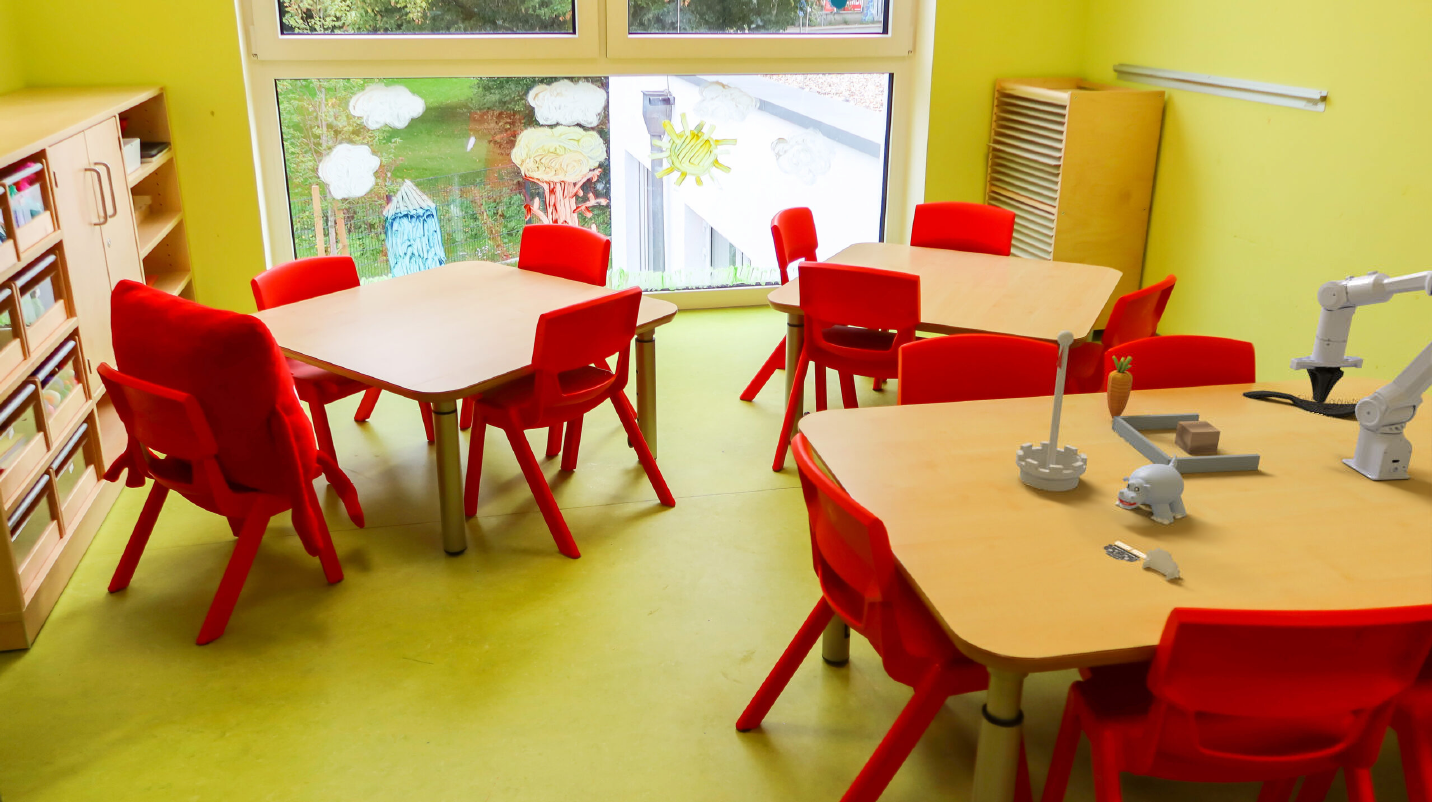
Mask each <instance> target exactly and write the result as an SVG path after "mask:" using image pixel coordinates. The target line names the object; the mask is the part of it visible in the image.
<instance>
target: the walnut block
mask: <svg viewBox="0 0 1432 802" xmlns="http://www.w3.org/2000/svg"><path fill="white" fill-rule="evenodd" d="M1220 436H1221V430H1219V429H1218V428H1217V427H1215V426H1214V425H1212V424H1211V423H1209V422H1208V421H1207V420H1199V421H1183V422H1178V424H1177V428H1176V432H1175V437H1174V438H1175V439H1174V444H1175V445H1176V446H1177V447H1179V448H1180V449H1181V450H1182V451H1184V452H1185V453H1186V454H1188V455H1207V454H1208V455H1211V454H1217V453H1218V449H1219V442H1220Z"/></svg>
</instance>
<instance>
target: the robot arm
mask: <svg viewBox="0 0 1432 802" xmlns="http://www.w3.org/2000/svg"><path fill="white" fill-rule="evenodd" d="M1419 291H1425V292H1426V295H1427V296H1429V297H1432V270H1425V271H1419V272H1415V273H1414V272H1413V273H1409V274H1405V275H1400V276H1396V277H1391V276H1389V275H1388V274H1387V273H1385V272H1379V271H1378V270H1374V271H1373V270H1371V271H1368V272H1366V275H1361V276H1357V277H1355V276H1354V275H1348V276H1346V277H1345V279H1340V280H1329V281H1327V282H1324V283H1322V284H1321V285H1320V287H1319V288H1318V290H1317V292H1316V293H1317V294H1316V295H1317V302H1318V303H1319V305H1320V306H1321V309H1320V313H1319V317H1318V323H1317V328H1316V334H1315V338H1314V344H1313V348H1312V353H1311V354H1310V355H1307V356H1302V357H1293V358H1291V359H1290V364H1289V368H1290V369H1293V370H1294V371H1300V370H1306V371H1307V374H1308V377H1309V380H1310V384H1311V390H1312V396H1313V398H1312V400H1313V401H1315V402H1318V403H1326V402H1327V401H1326V400H1328V397H1329V396H1330V394H1331V391H1332V390H1333V388H1334V387H1335V385H1336V384H1337V383H1338V382H1339V381H1340V380H1341V379H1342V378H1343V377H1344V373H1345V371H1344V370H1342V369H1341V368H1355V369H1362V368H1363V364H1364V358H1362V357H1359V356H1356V355H1355V356H1353V355H1351V356H1350V355H1346V349H1347V345H1348V340H1349V334H1350V330H1351V324H1352V320H1353V317H1354V315H1355V314H1356V309H1357V308H1358V307H1362V306H1370V305H1375V304H1383V303H1388V302H1389V301H1390V300H1391V299H1392V298H1393V296H1394V295H1396V294H1403V293H1411V292H1419ZM1431 386H1432V340H1431V341H1430V342H1429V343H1428V344H1427V345H1426V346H1425V347H1424V348H1423V349H1422V350H1421V351H1420V352H1419V353H1418V354H1417V355H1416V356H1415V358H1414V359H1413V360H1411V362H1409V364H1407V366H1405V368H1404V369H1402V371H1401V372H1400V373H1399V374H1398V375H1396V377H1395V378H1393V380H1392V381H1391V382H1389V383H1388V384H1385V385H1383V386H1382V387H1379V388H1378V389H1376V390H1375V391H1374V392H1373V393H1372V394H1371V395H1368V396H1364V397H1362V398H1361V399H1359V400H1360V401H1359V400H1358V403H1357V405H1356V408H1355V414H1354V415H1355V417H1356V419H1357V421H1358V423H1359V425H1358V426H1360V427H1359V432H1358V437H1357V441H1356V445H1355V449H1354V454H1353V458H1343V459H1342V461H1341V462H1342V463H1344V464H1346V465H1347V466H1349V467H1351V468H1352V469H1353V470H1355V471H1357V472H1358V473H1360V474H1362V475H1363V476H1365V477H1367V478H1368V479H1369V480H1372V481H1380V480H1381V481H1383V480H1384V481H1385V480H1403V479H1406V480H1407V479H1410V478H1411V475H1409V474H1407V473H1408V469H1409V465H1410V463H1411V457H1412V452H1413V445H1412V443H1411V442H1410V441H1409V439H1408V438H1406V436H1405V434H1404V429H1406V426H1407V423H1409V422H1410V421H1412V420H1413V419H1414V418H1415V417H1416V414H1417V411H1418V408H1419V406H1420V405H1421V404H1422V403H1423V402H1424V400H1423V397H1422V395H1423V394H1424V393H1425V392H1426V391H1428V389H1429V388H1430V387H1431Z"/></svg>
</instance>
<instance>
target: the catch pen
mask: <svg viewBox="0 0 1432 802" xmlns="http://www.w3.org/2000/svg"><path fill="white" fill-rule="evenodd" d="M1199 419H1200V414H1199V413H1197V412H1187V413H1164V414H1161V413H1160V414H1138V415H1137V414H1135V415H1120V416H1114V417H1113V419H1112V425H1111V430H1112V429H1113V430H1114V431H1113V430H1112V431H1113V432H1115V431H1116V432H1117V433H1118V434H1119V435H1118V434H1117V433H1116V432H1115V433H1116V434H1117V435H1118V436H1120V438H1122V437H1123V438H1124V439H1125V440H1124V439H1123V438H1122V439H1123V440H1124V441H1126V442H1127V443H1128V442H1129V443H1130V444H1129V443H1128V444H1129V445H1131V446H1132V447H1133V448H1134V447H1135V448H1136V451H1138V452H1139V451H1140V452H1141V453H1140V452H1139V453H1140V454H1142V455H1143V456H1144V457H1145V458H1147V459H1148V460H1149V461H1150V462H1152V464H1164V465H1169V464H1170V462H1171V461H1172V460H1173V458H1174V456H1173V457H1171V456H1170V455H1168V454H1167V453H1166V452H1165V451H1163V450H1162V449H1161V448H1160V447H1158V446H1157V445H1156V444H1154V443H1153V442H1152V441H1150V440H1149V439H1148V438H1147V437H1146V436H1144V435H1143V434H1142V433H1140V431H1143V430H1145V429H1149V430H1169V429H1172V430H1173V429H1177V424H1178V422H1183V421H1200V420H1199ZM1138 429H1139V430H1138ZM1145 431H1146V430H1145ZM1135 448H1134V449H1135ZM1260 460H1261V455H1260V454H1258V453H1252V454H1251V453H1246V454H1242V453H1241V454H1227V455H1223V454H1221V455H1201V456H1200V455H1199V456H1198V455H1197V456H1196V455H1195V456H1177V466H1176V468H1175V469H1176V470H1177V471H1178V472H1179V473H1180V474H1189V473H1190V474H1191V473H1192V474H1193V473H1195V474H1196V473H1213V472H1214V473H1217V472H1237V471H1238V472H1239V471H1241V472H1242V471H1257V470H1259V469H1258V468H1259V465H1260Z"/></svg>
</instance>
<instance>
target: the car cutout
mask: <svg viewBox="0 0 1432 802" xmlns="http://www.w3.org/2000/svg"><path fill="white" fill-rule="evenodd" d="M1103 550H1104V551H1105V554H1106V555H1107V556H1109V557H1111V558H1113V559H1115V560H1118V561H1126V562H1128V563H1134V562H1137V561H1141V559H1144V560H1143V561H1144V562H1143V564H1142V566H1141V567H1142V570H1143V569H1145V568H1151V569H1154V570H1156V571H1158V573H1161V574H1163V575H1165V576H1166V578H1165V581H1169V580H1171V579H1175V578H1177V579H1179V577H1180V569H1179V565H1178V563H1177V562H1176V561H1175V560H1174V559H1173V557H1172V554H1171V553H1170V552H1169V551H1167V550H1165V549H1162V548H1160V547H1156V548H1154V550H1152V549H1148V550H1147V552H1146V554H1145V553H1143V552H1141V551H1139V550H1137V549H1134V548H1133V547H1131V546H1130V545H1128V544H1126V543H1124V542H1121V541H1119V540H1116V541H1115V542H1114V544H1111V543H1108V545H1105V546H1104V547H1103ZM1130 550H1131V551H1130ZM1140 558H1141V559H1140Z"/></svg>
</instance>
